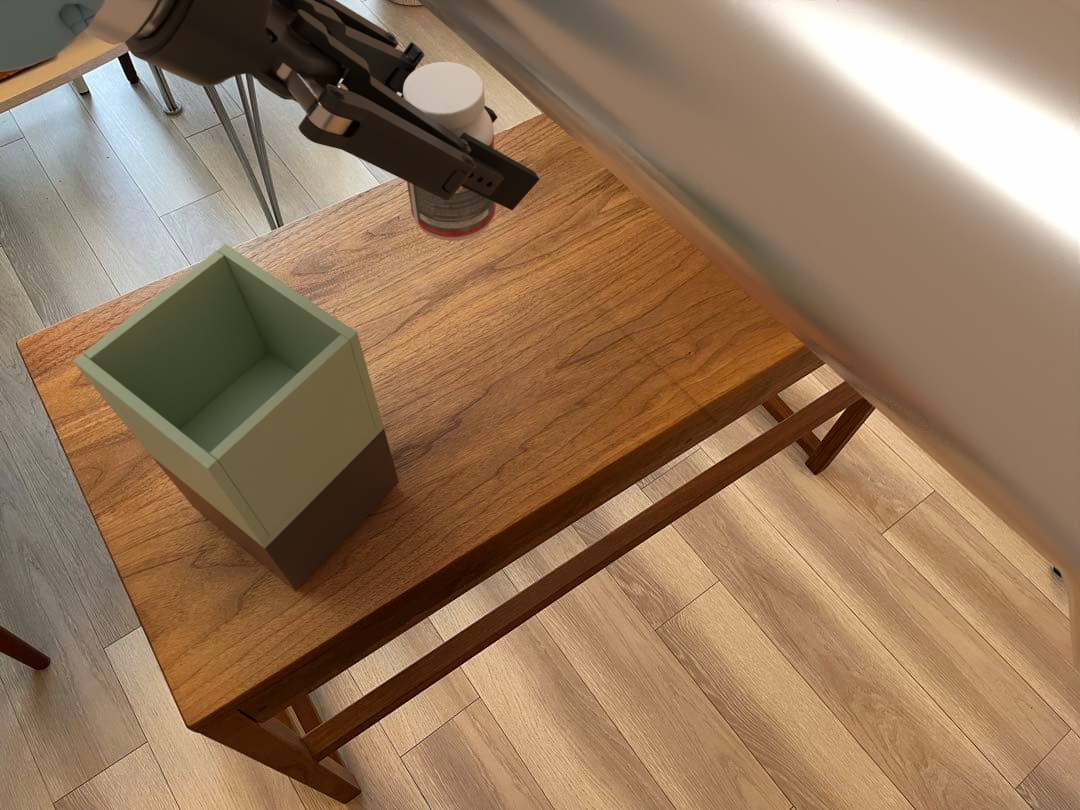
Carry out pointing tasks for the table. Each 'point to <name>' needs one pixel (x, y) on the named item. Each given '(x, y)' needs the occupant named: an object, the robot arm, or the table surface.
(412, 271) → the table surface
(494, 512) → the table surface
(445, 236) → the pill bottle
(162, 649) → the table surface
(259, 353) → the waste bin
